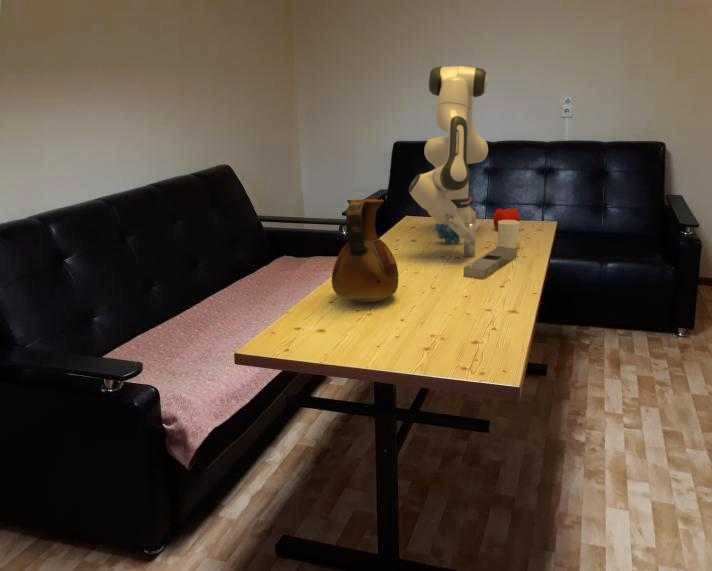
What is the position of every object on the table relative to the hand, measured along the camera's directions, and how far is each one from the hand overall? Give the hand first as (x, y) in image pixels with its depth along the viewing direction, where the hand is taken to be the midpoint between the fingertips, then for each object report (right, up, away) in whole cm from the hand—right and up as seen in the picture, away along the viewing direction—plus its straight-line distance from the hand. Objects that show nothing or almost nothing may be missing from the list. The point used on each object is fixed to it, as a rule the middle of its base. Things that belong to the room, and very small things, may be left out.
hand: (471, 238), depth 248 cm
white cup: (+16, -3, +13) cm, 20 cm away
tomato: (+22, +6, +42) cm, 47 cm away
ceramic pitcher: (-39, -21, -43) cm, 61 cm away
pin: (-1, -6, +2) cm, 6 cm away
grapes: (-6, -1, +20) cm, 20 cm away
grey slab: (+5, -10, -11) cm, 16 cm away
